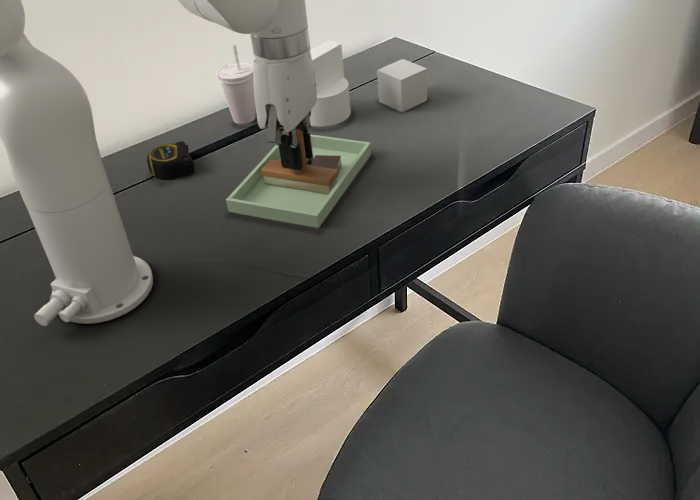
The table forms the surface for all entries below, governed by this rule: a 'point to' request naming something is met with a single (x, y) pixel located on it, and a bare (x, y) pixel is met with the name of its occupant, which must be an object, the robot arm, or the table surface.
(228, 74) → the smoothie
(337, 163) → the chip
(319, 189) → the brush
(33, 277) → the table surface
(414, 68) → the light grey cube
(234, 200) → the tray
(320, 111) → the base with upright slab
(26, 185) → the robot arm
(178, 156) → the tape measure
